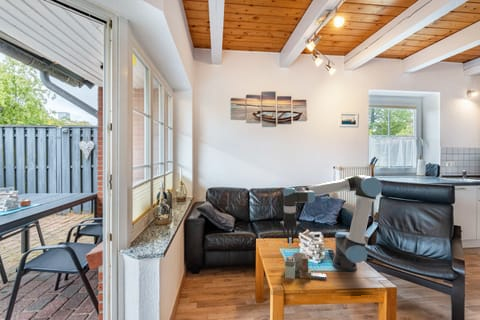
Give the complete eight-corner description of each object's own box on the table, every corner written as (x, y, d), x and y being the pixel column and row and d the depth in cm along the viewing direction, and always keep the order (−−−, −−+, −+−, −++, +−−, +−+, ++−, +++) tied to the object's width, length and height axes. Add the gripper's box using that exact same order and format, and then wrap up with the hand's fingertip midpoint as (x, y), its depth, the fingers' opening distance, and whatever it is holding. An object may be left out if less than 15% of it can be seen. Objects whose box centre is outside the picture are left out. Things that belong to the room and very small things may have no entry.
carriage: (310, 273, 147) (310, 255, 147) (311, 278, 141) (311, 260, 141) (299, 272, 149) (299, 254, 148) (299, 277, 143) (299, 259, 142)
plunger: (292, 262, 148) (292, 257, 148) (292, 264, 145) (292, 259, 145) (287, 261, 148) (287, 257, 148) (287, 263, 146) (287, 259, 146)
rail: (325, 276, 144) (325, 274, 144) (326, 279, 140) (326, 277, 140) (294, 273, 148) (294, 270, 148) (294, 276, 144) (294, 273, 144)
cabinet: (294, 271, 151) (294, 256, 150) (294, 278, 142) (294, 263, 142) (285, 270, 152) (285, 255, 152) (285, 277, 143) (285, 262, 143)
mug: (306, 273, 148) (306, 258, 148) (286, 271, 150) (286, 256, 150) (305, 267, 156) (305, 252, 156) (286, 265, 159) (286, 251, 158)
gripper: (299, 210, 148) (300, 246, 149) (279, 210, 151) (280, 245, 152) (300, 213, 141) (301, 251, 141) (279, 213, 144) (280, 250, 144)
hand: (290, 248), depth 146 cm, fingers closed
